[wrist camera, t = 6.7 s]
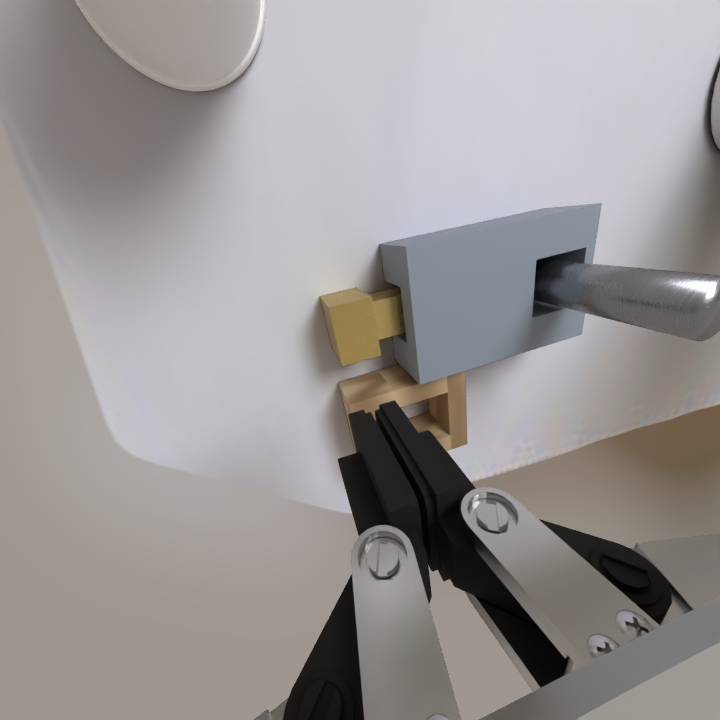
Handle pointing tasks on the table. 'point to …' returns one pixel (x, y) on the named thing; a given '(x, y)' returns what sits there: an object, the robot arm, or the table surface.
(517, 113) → the table surface
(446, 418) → the tan slotted block
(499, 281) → the socket block
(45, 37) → the table surface
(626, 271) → the metal cylinder rod
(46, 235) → the table surface
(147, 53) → the white nozzle bottle
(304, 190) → the table surface
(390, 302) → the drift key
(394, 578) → the robot arm
